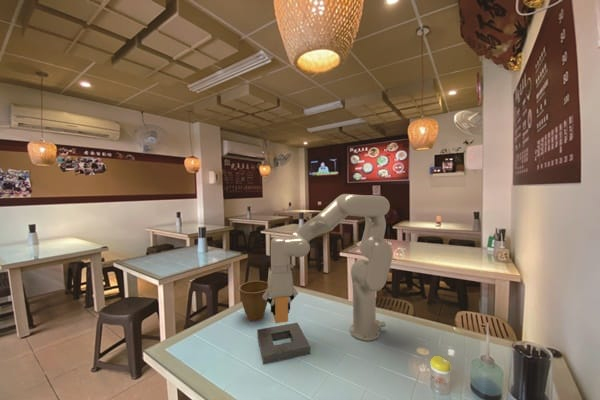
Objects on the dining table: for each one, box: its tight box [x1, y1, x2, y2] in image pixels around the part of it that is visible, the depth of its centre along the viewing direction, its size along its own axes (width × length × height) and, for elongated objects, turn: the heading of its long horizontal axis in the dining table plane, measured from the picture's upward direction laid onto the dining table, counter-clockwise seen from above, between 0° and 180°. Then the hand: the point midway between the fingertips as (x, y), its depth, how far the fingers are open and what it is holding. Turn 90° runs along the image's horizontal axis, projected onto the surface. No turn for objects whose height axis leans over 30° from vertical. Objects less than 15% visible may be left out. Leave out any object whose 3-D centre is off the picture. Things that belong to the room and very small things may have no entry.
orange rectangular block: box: [272, 296, 289, 324], centre depth 100 cm, size 5×5×10 cm
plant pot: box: [238, 280, 270, 322], centre depth 122 cm, size 15×15×16 cm
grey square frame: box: [256, 322, 311, 365], centre depth 101 cm, size 18×18×3 cm
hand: (280, 312), depth 100 cm, fingers closed on orange rectangular block, 5 cm apart
